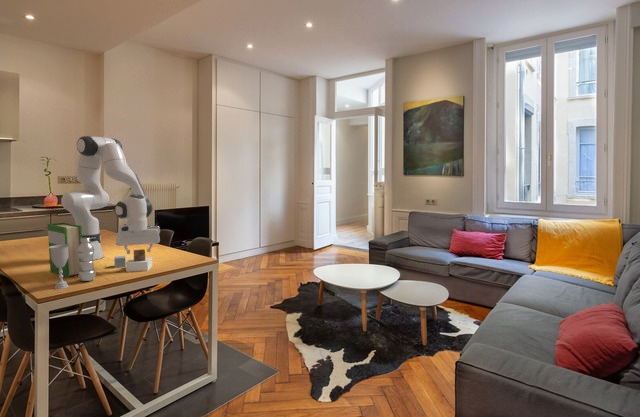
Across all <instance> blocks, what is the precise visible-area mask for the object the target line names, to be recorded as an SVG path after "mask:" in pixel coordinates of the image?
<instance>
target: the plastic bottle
mask: <svg viewBox="0 0 640 417" xmlns="http://www.w3.org/2000/svg"><path fill="white" fill-rule="evenodd" d="M80 242H81V244H80V246H79V247H78V250H77V251H78V256H79V261H80V262H79V263H80V266H79V274H77V275H78V280H79V281H81V282H90V281H93V280H95V278H96V271H95V266H94V260H93V256H94V247H93V246H92V244H91V243H90V237H83V238H80Z"/></svg>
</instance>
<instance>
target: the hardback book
mask: <svg viewBox="0 0 640 417" xmlns="http://www.w3.org/2000/svg"><path fill="white" fill-rule="evenodd" d="M47 235H48V236H47V237H48V239H47V240H48V253H49V254H48V255H49V267H50V269H49V272H50V273H53V274H54V275H58V276H59V275H60V274H59V268H58V267H56V266H55V264H54V263H53V261H52V259H51V251H50V248H49V247H50V246H55V245H69V247H68V256H69V257H68V260H67V262H66V264H65V266H64V267H62V271H63V272H62V275H63V278H66V279H68V278H70V276H75V275H79V266H80V263H79V262H80V261H79V256H78V251H77V250H78V247H79V246H80V244H81V242H80V238H82V227H81V226H80V225H76V223H75V224H74V223H68V222H57V223H48V224H47Z"/></svg>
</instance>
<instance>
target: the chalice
mask: <svg viewBox="0 0 640 417" xmlns="http://www.w3.org/2000/svg"><path fill="white" fill-rule="evenodd" d="M68 247H69V245H55V246H50V247H49V246H48V249H49V248H50V251H51V259H52V261H53V263H54V264H55V266H56V267H58V268H59V274H60V275H58V276H57V277H58V278H59V281H58V282H56V284H55V287H54V289H55V290H62V289H67V288H68V287H69V285H68V283H67V281H65V280H64V279H63V278H64V277H63V275H62V272H63V271H62V267H64V266H65V264H66V262H67V260H68V257H69V256H68Z"/></svg>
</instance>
